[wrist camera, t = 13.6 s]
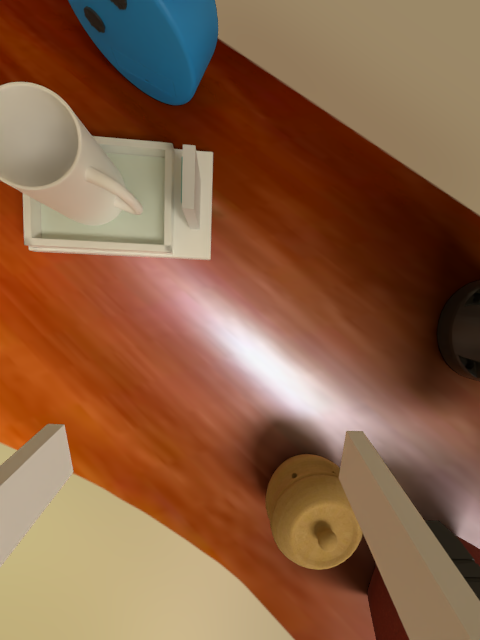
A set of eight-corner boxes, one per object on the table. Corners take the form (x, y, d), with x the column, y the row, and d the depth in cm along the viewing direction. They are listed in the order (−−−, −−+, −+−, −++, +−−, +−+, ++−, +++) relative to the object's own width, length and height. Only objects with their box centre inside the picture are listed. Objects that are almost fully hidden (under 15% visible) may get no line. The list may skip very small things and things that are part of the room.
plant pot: (339, 611, 38) (432, 853, 21) (373, 499, 37) (498, 661, 20) (446, 625, 40) (608, 858, 23) (480, 519, 39) (676, 683, 22)
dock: (213, 156, 31) (210, 107, 23) (210, 260, 32) (207, 246, 24) (31, 141, 29) (-38, 82, 22) (34, 251, 30) (-31, 234, 23)
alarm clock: (220, 84, 31) (220, -120, 16) (198, 129, 31) (179, -31, 16) (122, 26, 29) (22, -258, 14) (101, 73, 30) (-20, -159, 15)
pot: (352, 463, 36) (402, 524, 26) (311, 528, 37) (346, 613, 27) (287, 427, 35) (314, 477, 25) (246, 495, 35) (256, 571, 25)
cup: (74, 144, 29) (-5, 60, 19) (167, 192, 30) (141, 138, 20) (46, 207, 29) (-46, 158, 19) (139, 253, 30) (99, 229, 20)
